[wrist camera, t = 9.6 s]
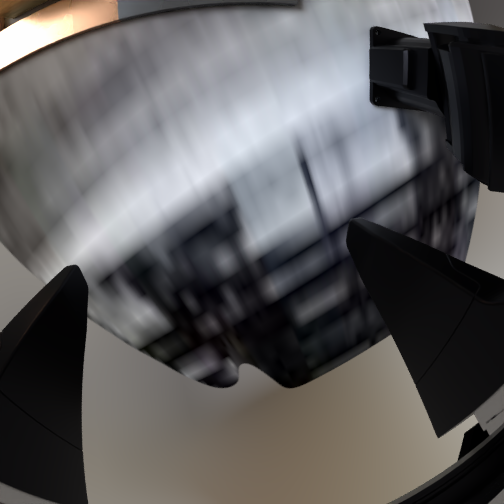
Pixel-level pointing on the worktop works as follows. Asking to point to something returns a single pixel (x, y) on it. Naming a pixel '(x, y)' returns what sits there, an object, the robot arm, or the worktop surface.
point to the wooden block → (17, 7)
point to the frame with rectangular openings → (87, 21)
